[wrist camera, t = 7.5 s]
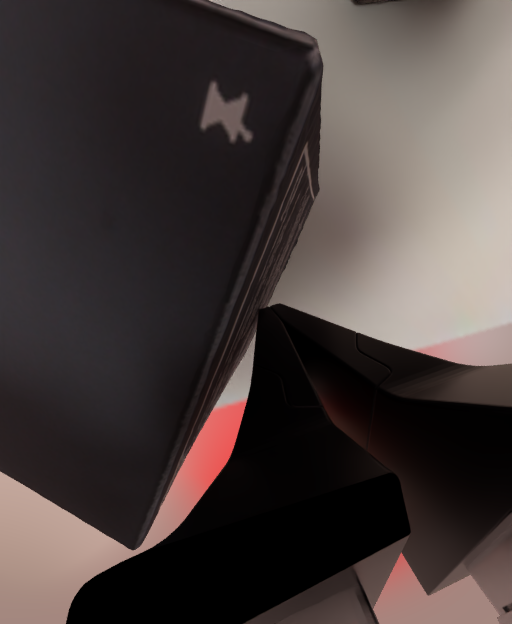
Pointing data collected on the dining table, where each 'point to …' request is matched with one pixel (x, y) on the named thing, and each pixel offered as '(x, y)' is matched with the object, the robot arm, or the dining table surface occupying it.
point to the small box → (139, 233)
